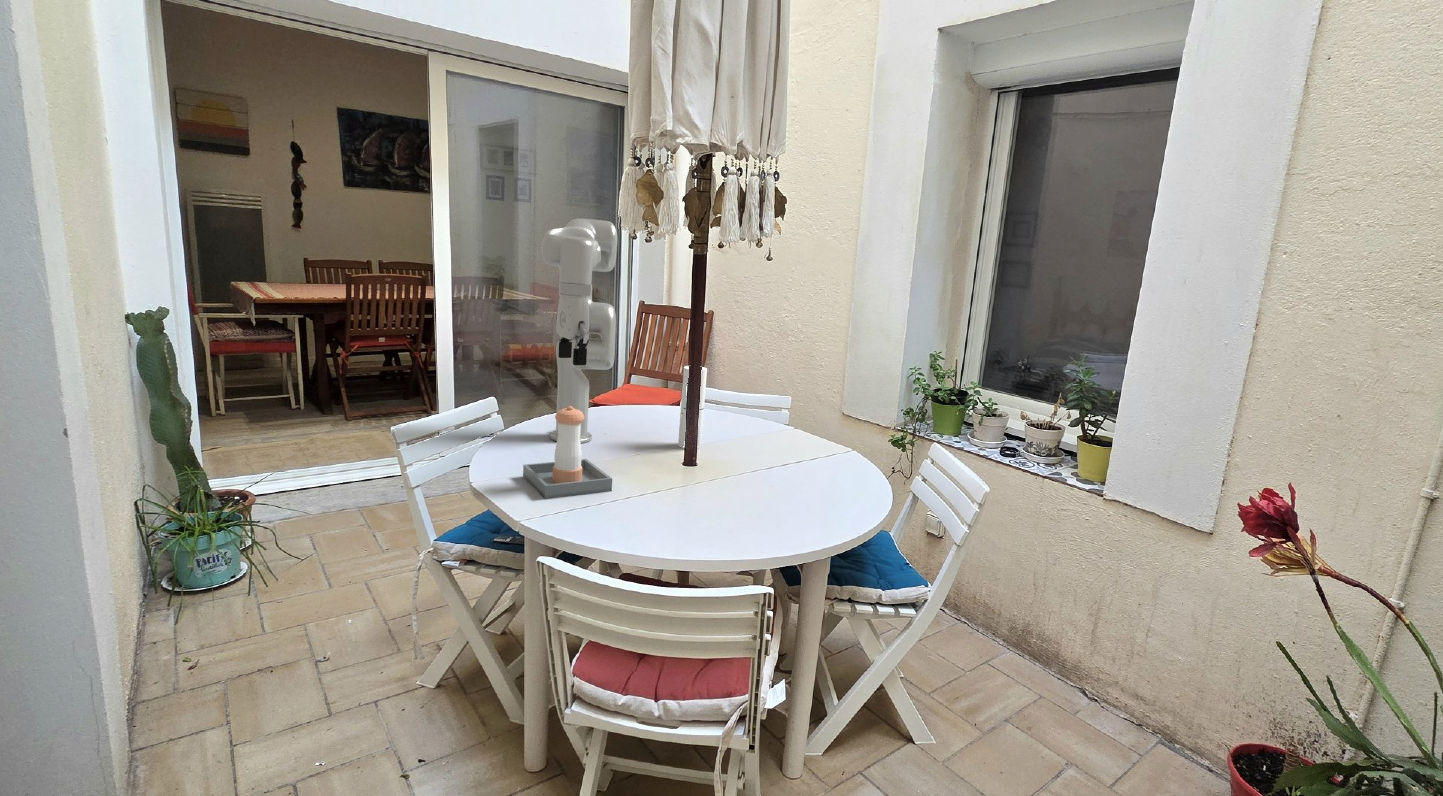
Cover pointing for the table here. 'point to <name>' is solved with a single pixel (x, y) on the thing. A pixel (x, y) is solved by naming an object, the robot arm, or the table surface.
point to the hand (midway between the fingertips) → (572, 361)
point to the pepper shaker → (568, 446)
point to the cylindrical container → (683, 406)
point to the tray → (590, 483)
